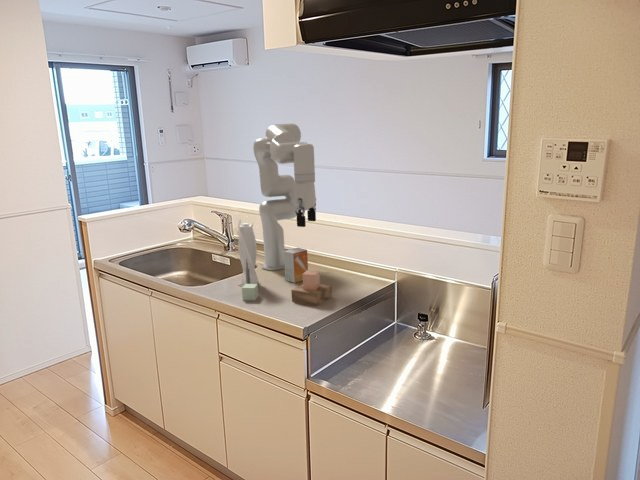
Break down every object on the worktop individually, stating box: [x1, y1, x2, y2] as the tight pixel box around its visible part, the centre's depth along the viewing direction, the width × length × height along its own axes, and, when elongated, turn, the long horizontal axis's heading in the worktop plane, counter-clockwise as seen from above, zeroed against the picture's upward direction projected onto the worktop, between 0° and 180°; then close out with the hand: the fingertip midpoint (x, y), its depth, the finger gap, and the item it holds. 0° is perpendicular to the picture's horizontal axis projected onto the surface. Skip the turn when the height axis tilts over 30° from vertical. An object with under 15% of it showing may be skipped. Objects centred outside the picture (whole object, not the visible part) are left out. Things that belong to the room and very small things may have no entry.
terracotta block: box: [302, 269, 321, 290], centre depth 191 cm, size 5×5×6 cm
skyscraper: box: [237, 219, 262, 288], centre depth 211 cm, size 8×8×28 cm
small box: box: [284, 247, 309, 284], centre depth 216 cm, size 8×6×13 cm
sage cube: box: [241, 284, 260, 301], centre depth 196 cm, size 5×5×5 cm
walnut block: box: [291, 283, 333, 307], centre depth 192 cm, size 11×11×5 cm
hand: (306, 223), depth 189 cm, fingers open, 9 cm apart
